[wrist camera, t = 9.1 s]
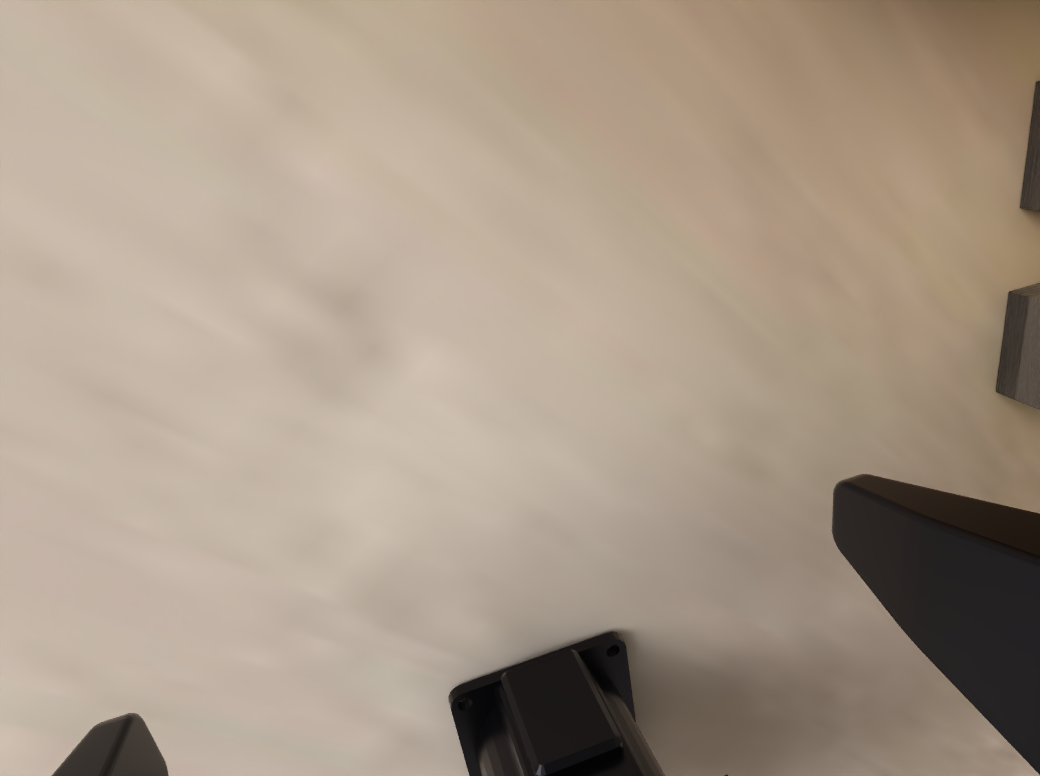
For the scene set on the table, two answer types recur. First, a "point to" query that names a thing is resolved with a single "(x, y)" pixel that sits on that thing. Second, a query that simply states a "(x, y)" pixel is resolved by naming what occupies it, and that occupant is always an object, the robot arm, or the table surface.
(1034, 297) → the bracket
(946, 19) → the table surface
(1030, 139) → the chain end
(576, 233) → the table surface
